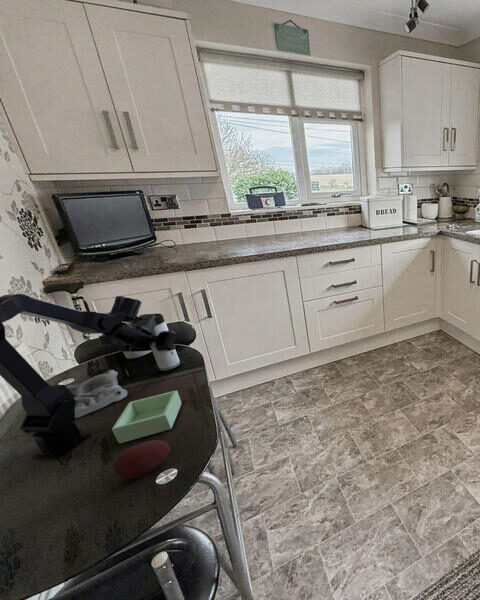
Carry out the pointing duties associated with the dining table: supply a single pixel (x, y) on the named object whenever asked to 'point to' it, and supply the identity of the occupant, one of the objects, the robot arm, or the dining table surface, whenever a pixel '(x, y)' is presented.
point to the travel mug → (163, 358)
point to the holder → (147, 416)
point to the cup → (135, 354)
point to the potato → (141, 459)
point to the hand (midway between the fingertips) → (166, 348)
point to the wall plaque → (96, 393)
